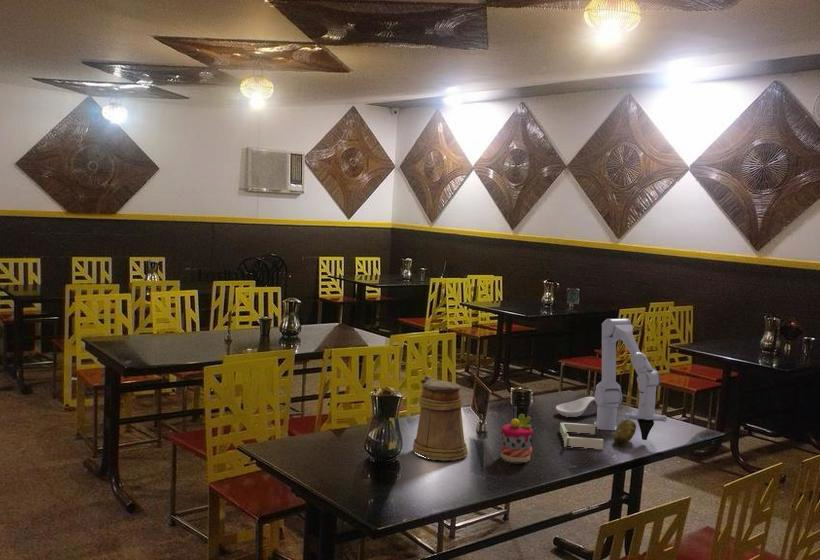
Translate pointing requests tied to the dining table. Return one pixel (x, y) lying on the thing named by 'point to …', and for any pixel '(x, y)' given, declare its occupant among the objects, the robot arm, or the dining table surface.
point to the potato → (624, 432)
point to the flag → (565, 438)
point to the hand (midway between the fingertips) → (644, 439)
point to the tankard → (440, 421)
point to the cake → (517, 440)
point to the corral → (577, 440)
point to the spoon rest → (574, 407)
